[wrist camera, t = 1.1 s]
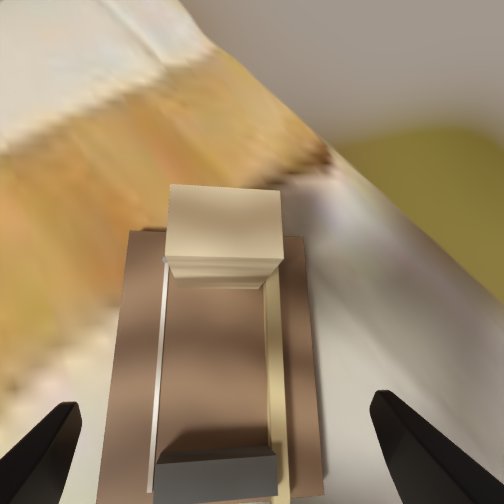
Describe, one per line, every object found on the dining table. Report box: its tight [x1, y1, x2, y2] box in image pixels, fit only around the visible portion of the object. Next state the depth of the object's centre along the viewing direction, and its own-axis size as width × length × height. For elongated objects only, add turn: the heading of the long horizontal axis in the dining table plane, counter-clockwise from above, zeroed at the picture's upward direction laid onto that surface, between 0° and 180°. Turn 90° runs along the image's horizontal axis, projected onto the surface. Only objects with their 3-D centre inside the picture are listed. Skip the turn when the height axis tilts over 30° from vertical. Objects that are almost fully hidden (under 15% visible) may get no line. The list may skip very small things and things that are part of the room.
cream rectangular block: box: [162, 184, 284, 289], centre depth 19 cm, size 4×7×8 cm, turn 91°
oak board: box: [96, 231, 324, 504], centre depth 20 cm, size 18×14×3 cm
